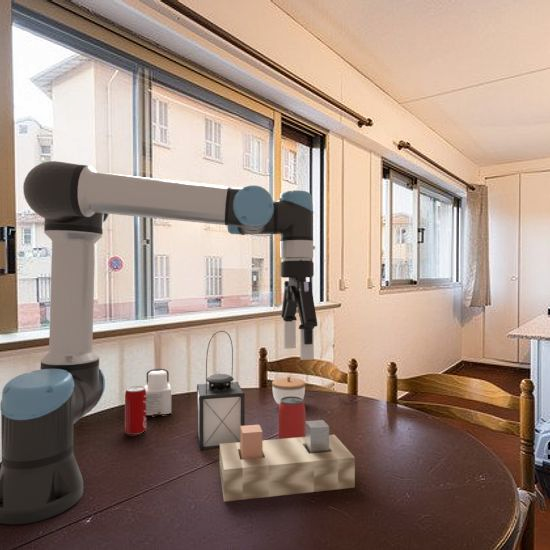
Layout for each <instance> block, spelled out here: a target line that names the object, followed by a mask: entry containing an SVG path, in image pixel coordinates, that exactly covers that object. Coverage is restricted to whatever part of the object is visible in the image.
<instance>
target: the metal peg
mask: <svg viewBox="0 0 550 550" xmlns="http://www.w3.org/2000/svg"><path fill="white" fill-rule="evenodd" d="M329 435H330V426H329V425H328V423H327V422H325V420H324V419H316V420H305V448H306V450H307V452H308V453H309V454H310V453H321V452H329Z"/></svg>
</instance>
